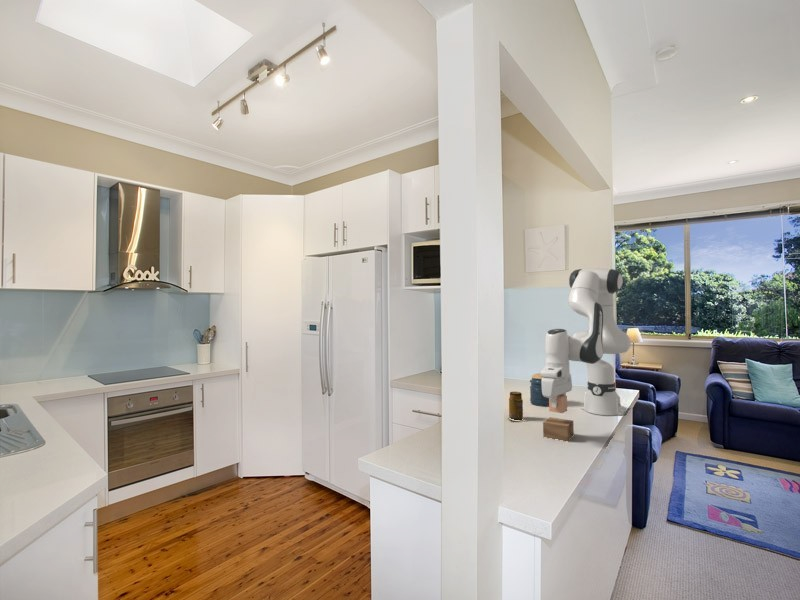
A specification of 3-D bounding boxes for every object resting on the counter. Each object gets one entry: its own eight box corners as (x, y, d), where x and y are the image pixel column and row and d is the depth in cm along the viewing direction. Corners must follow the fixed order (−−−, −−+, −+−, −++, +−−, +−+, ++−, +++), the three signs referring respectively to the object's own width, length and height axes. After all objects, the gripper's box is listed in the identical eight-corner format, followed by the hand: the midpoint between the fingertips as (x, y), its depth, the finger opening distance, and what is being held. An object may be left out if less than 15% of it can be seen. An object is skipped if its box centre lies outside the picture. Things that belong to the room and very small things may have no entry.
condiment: (521, 416, 182) (520, 390, 183) (527, 421, 174) (527, 394, 174) (505, 417, 182) (505, 391, 182) (511, 422, 174) (510, 395, 174)
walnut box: (550, 431, 160) (549, 417, 160) (573, 436, 154) (573, 420, 154) (543, 437, 152) (543, 422, 153) (567, 442, 147) (567, 426, 147)
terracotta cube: (554, 408, 157) (554, 393, 157) (567, 410, 153) (566, 395, 154) (549, 411, 153) (548, 395, 154) (562, 413, 150) (561, 397, 150)
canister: (561, 404, 205) (560, 370, 205) (546, 408, 197) (545, 373, 198) (540, 399, 215) (539, 367, 216) (524, 403, 208) (524, 370, 209)
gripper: (560, 366, 163) (561, 400, 163) (538, 372, 149) (538, 409, 148) (575, 368, 159) (576, 402, 159) (554, 374, 145) (555, 411, 144)
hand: (558, 405), depth 153 cm, fingers closed on terracotta cube, 5 cm apart
